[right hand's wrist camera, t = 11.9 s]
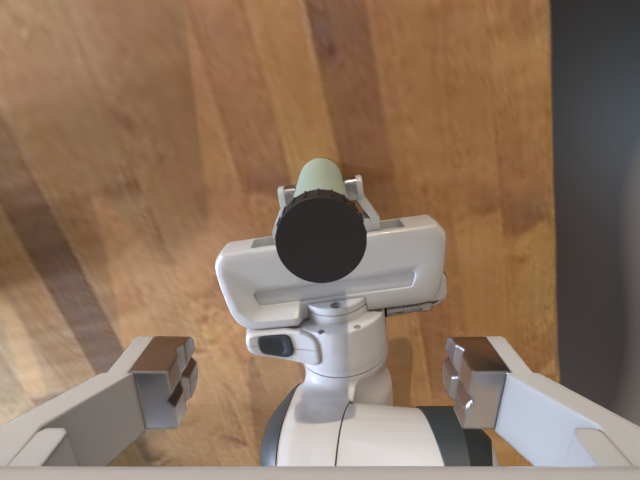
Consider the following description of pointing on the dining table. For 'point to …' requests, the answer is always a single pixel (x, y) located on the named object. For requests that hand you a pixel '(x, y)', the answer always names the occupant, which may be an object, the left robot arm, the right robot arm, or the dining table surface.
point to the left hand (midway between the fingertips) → (318, 181)
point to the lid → (320, 236)
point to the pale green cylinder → (320, 177)
